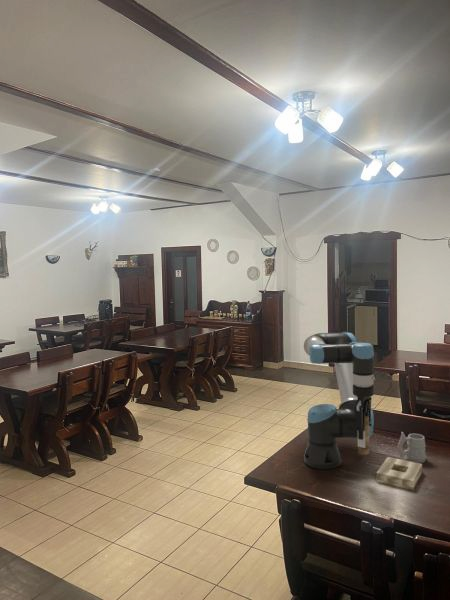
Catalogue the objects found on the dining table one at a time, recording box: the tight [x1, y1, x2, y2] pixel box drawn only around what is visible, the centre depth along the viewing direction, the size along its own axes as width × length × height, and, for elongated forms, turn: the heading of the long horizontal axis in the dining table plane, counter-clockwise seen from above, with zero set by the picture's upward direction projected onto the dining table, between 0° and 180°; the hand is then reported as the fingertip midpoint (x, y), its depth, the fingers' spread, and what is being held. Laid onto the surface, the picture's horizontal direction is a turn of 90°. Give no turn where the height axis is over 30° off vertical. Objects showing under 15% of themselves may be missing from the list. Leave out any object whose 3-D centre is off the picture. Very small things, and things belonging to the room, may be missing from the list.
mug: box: [396, 431, 427, 464], centre depth 188 cm, size 8×12×12 cm, turn 95°
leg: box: [357, 415, 370, 456], centre depth 172 cm, size 4×4×14 cm
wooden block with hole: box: [376, 456, 423, 491], centre depth 174 cm, size 13×16×4 cm
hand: (363, 444), depth 172 cm, fingers closed on leg, 4 cm apart
